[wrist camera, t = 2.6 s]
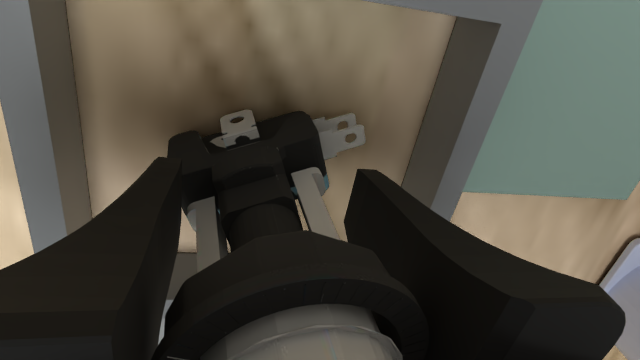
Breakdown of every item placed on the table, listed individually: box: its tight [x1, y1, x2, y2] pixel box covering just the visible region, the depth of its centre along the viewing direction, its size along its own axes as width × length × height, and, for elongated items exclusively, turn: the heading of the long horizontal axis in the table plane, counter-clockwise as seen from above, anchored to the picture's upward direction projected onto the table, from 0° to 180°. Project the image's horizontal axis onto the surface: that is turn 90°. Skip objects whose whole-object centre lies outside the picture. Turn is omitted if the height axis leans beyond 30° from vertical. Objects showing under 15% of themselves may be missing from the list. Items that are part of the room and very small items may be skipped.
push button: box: [151, 109, 429, 360], centre depth 11 cm, size 7×5×10 cm
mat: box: [462, 0, 640, 200], centre depth 16 cm, size 9×11×1 cm
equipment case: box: [0, 0, 543, 345], centre depth 17 cm, size 14×27×2 cm, turn 169°
